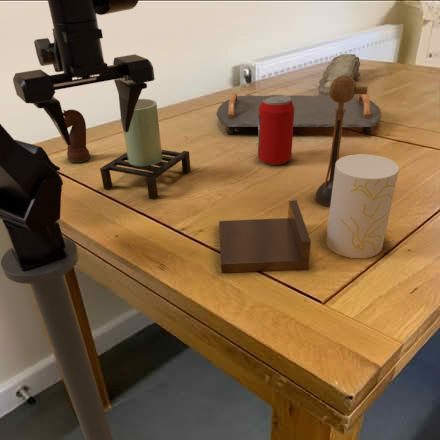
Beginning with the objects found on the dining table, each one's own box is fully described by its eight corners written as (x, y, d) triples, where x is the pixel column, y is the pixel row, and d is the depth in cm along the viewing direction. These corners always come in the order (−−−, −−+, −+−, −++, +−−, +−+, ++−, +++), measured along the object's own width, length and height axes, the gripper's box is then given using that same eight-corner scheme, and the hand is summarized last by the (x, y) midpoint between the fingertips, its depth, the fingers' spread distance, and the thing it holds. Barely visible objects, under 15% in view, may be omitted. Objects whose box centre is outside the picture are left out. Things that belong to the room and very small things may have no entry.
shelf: (221, 273, 64) (220, 245, 62) (219, 229, 74) (218, 203, 71) (308, 269, 64) (311, 241, 62) (294, 225, 74) (296, 200, 71)
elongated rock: (350, 84, 120) (311, 83, 123) (347, 105, 123) (310, 103, 126) (365, 51, 145) (332, 51, 148) (363, 70, 148) (331, 69, 151)
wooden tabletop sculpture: (349, 195, 81) (368, 71, 69) (350, 207, 78) (370, 79, 66) (315, 193, 82) (327, 71, 70) (314, 205, 79) (327, 79, 67)
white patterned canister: (341, 262, 65) (353, 182, 58) (317, 234, 72) (325, 158, 64) (393, 252, 67) (411, 173, 60) (364, 225, 73) (378, 151, 66)
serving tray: (212, 137, 106) (210, 109, 103) (222, 106, 125) (221, 82, 121) (386, 138, 102) (392, 109, 99) (371, 106, 120) (375, 80, 117)
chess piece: (65, 157, 99) (53, 109, 93) (88, 152, 101) (78, 104, 95) (71, 164, 96) (59, 114, 90) (95, 159, 98) (85, 110, 92)
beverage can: (274, 151, 99) (276, 91, 91) (298, 160, 94) (302, 98, 87) (250, 160, 95) (251, 98, 88) (274, 169, 91) (276, 106, 84)
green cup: (162, 165, 85) (156, 108, 78) (127, 167, 84) (117, 110, 78) (163, 152, 90) (156, 97, 83) (129, 154, 89) (121, 99, 83)
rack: (154, 199, 83) (151, 178, 80) (103, 188, 87) (99, 168, 84) (190, 171, 92) (189, 151, 90) (143, 162, 96) (140, 143, 94)
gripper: (117, 7, 71) (132, 113, 80) (-12, 21, 63) (22, 136, 73) (149, 14, 63) (161, 130, 73) (7, 32, 55) (42, 158, 65)
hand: (97, 138), depth 71 cm, fingers open, 9 cm apart
